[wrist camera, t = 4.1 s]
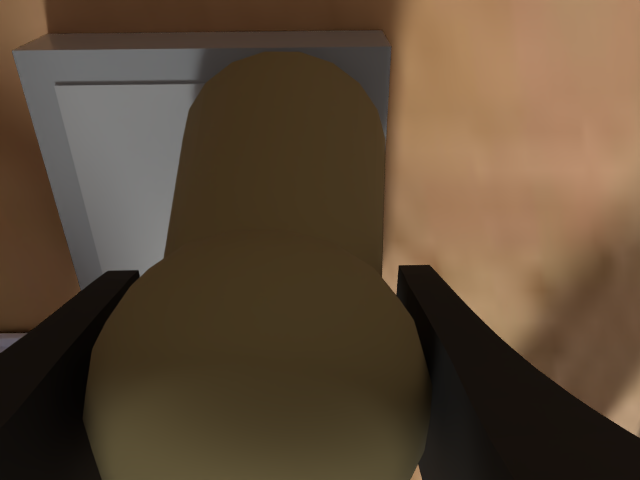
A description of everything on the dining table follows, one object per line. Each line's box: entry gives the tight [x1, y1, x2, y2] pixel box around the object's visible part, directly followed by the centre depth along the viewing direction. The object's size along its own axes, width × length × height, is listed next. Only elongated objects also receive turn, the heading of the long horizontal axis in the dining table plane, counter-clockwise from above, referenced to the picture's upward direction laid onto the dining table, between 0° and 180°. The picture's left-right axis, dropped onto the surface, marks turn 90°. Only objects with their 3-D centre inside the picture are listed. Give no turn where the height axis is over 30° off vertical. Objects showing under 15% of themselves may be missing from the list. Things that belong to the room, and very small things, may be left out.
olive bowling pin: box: [82, 52, 432, 480], centre depth 12 cm, size 6×6×11 cm
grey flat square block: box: [12, 30, 391, 291], centre depth 20 cm, size 11×11×3 cm
